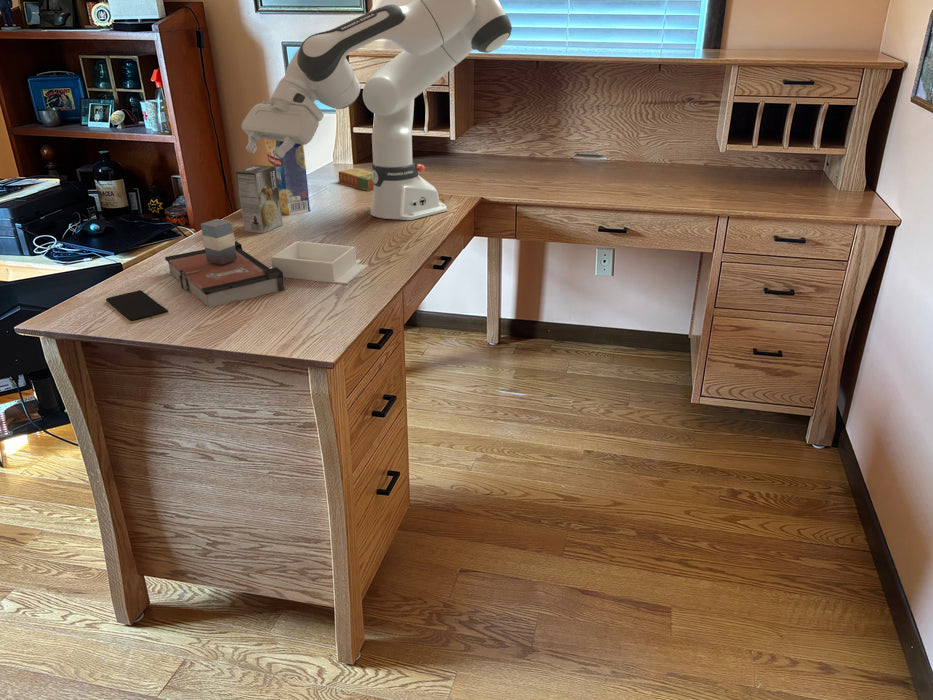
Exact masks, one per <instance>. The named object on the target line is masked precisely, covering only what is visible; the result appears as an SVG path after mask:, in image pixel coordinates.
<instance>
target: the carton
mask: <svg viewBox="0 0 933 700" xmlns="http://www.w3.org/2000/svg"><path fill="white" fill-rule="evenodd" d="M338 182H339V183H340V184H342V185H346V186H349V187H352V188H356V189H358V190H359V189H360V190H363V191H366V192H370V191H372V192H373V190H374V184H373V179H372V171H370V170H365V169H362V168H351V169H345V170H340V171H338Z"/></svg>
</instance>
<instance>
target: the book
mask: <svg viewBox="0 0 933 700" xmlns="http://www.w3.org/2000/svg"><path fill="white" fill-rule="evenodd" d="M235 249H236V255H237V259H236V260H233V261H230V262H228V263H225V264H223V265H220V264H216V263H211V262H207V258H206V252H205V248H204V249H199V250H194V251H189V252H183V253H178V254H173V255H169V256H164V259H165V261H166V262H167V264H168V268H169V272H170V274H171V275H172V276H173V277H174V278H176V280H178V281H179V283H180V287H181V290H182V291H184V292H188V290H189V291H190V292H191V293H192V295H194V296H195V297H197V298H198V299H199V300H200V301H201V302H202V303H203V304H204V305H205V306H206V307H208V308H212V307H216V306H220V305H221V306H222V305H224V304H229V303H234V302H238V301H245V300H249V299H254V298H258V297H262V296H266V295H271V294H275V293H279V292H280V293H281V292H282V291H286V290H285V289H286V288H285V282H284V281H285V280H284V277H283V272H282V271H281V270H279V269H278V268H276V267H275V268H271V267H268V266H267V265H265V264H264V263H263V262H261V261H260V260H258V259H257V258H255V257H254V256H252V255H251V254H249V253H248V252H246V251H245V250H243V246H242V243H240V242H239V241H237V240H235ZM270 268H271V269H270Z"/></svg>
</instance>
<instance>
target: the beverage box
mask: <svg viewBox="0 0 933 700" xmlns="http://www.w3.org/2000/svg"><path fill="white" fill-rule="evenodd" d="M283 143H284V142H283V141H276V140H269V139H264V147H265V153H266V154H265V155H266V162H267V164H266V165H267V166H276V174H277V182H278V190H279V199H280V207H281V213H282V214H285V215H287V216H292V215H297V214H303V213H308V212H311V208H310V200H309V198H310V197H309V187H308V177H307V168H306V167H307V166H306V165H307V164H306V156H305V155H306V154H305V147H304V146H305V145H303V144H296V143H295V144H294V146H293V147H292V148H291V149H290V150H288V151H287V152H286V153H285V155H284V157H283V158H280V157H277V156H276V155H275V154H274V151H275V150H276V147H280V146H281V145H282V144H283Z"/></svg>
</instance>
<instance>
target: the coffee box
mask: <svg viewBox="0 0 933 700" xmlns="http://www.w3.org/2000/svg"><path fill="white" fill-rule="evenodd" d="M235 174H236V180H237V188H238V194H239V200H240V201H239V202H240V208H241V215H242V221H243V227H244V228H243V229H244V232H249V233H256V234H257V233H259V234H266V233H268V232H270V231H272V230H273V229H276V228H278V227H279V226H282V225H283V216H282V212H281V207H280V199H279V190H278V182H277V174H276V166H268V165H265V164H263V165H262V164H261V165H260V164H255V165H252V166H249V167H245V168H243V169H241V170H238V171H235Z"/></svg>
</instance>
